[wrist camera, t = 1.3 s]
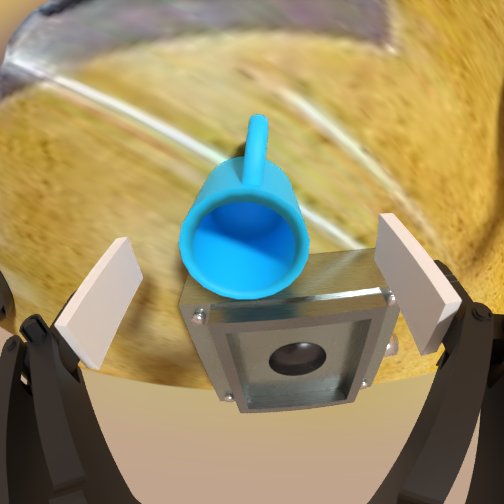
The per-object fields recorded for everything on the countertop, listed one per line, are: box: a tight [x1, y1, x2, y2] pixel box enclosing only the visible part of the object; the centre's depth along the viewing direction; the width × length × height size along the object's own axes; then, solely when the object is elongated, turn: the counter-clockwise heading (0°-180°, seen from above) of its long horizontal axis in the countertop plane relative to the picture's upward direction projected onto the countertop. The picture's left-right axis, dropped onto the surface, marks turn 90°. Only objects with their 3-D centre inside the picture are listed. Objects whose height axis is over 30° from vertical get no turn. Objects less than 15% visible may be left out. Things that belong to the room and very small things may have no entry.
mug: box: [179, 114, 310, 299], centre depth 19 cm, size 12×8×8 cm
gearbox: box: [178, 248, 400, 413], centre depth 28 cm, size 23×18×8 cm
